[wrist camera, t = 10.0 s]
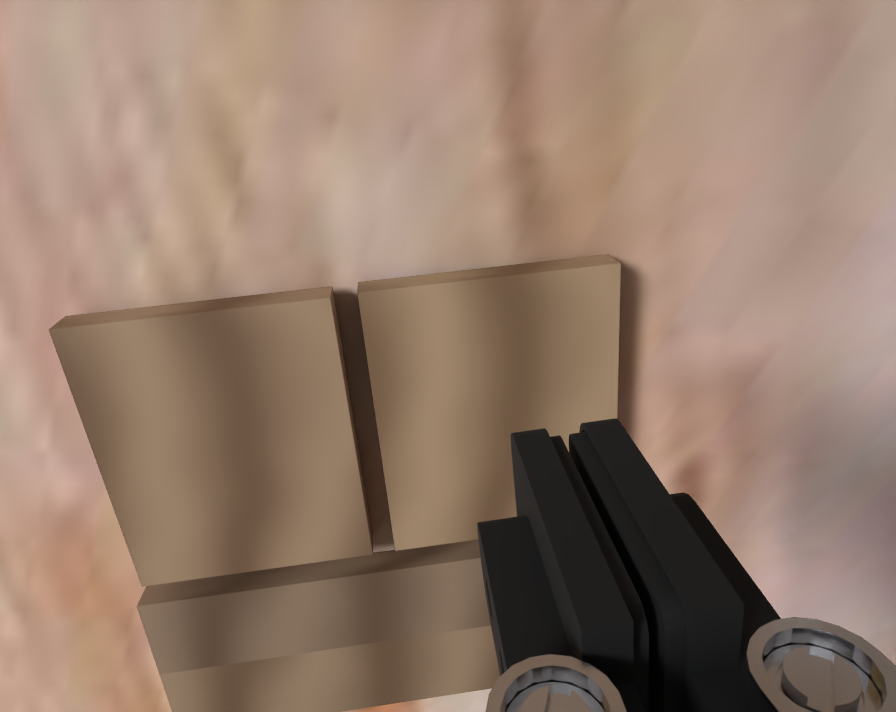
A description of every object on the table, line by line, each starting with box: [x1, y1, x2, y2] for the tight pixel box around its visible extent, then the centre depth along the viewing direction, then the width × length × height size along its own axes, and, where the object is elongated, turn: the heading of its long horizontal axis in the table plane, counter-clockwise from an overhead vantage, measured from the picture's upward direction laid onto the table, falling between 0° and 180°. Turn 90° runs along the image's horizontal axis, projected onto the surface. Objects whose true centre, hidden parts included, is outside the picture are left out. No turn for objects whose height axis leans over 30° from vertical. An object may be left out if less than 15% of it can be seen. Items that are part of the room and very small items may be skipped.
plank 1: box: [49, 286, 373, 587], centre depth 26 cm, size 10×12×1 cm
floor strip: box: [137, 539, 500, 712], centre depth 31 cm, size 22×8×1 cm, turn 95°
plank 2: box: [357, 254, 621, 551], centre depth 27 cm, size 10×12×1 cm
